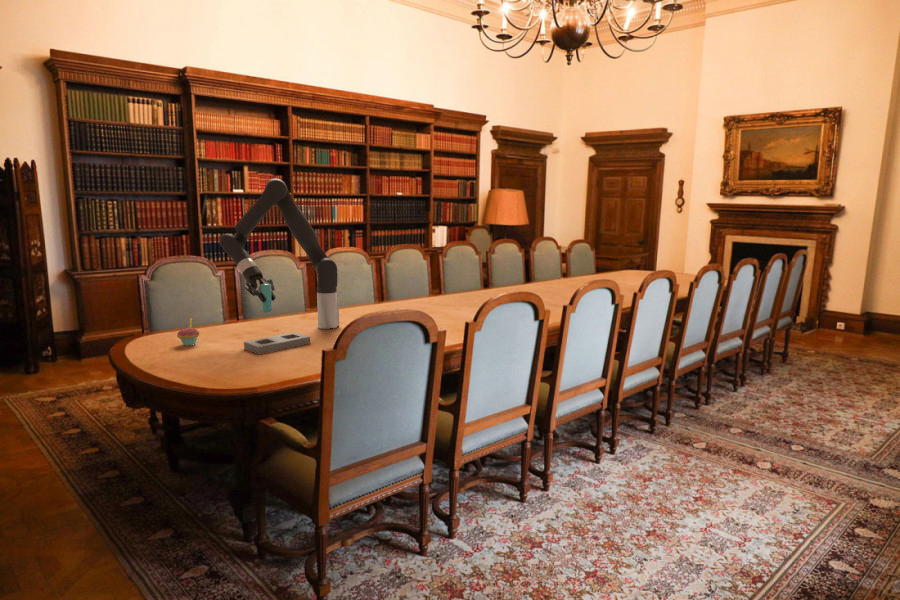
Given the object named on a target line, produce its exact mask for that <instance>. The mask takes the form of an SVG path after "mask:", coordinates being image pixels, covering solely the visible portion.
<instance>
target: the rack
mask: <svg viewBox="0 0 900 600" xmlns="http://www.w3.org/2000/svg"><path fill="white" fill-rule="evenodd" d="M308 343H310V344H311V336H309V335H307V334H303V333H300V332H297V331H293V332H289V333H288V332H287V333H283V334H277V335H273V336H268V337H267V336H266V337H262V338H257V339H253V340H252V339H251V340H245V341H243V348H244V350H246V349H247V350H246V351H249V352H251V351H252V353H254V354H257V355H262V353H263V354H267V352H268V353H272V351H273V352H276V350H277V351H282V350H286V349H285V348H287V349H291V348H295V346H296V347H300V345H301V346H305V345H309V344H308ZM304 344H305V345H304ZM290 347H291V348H290ZM281 349H282V350H281Z"/></svg>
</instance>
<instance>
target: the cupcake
mask: <svg viewBox="0 0 900 600" xmlns="http://www.w3.org/2000/svg"><path fill="white" fill-rule="evenodd" d="M192 318H193V317H190V319H189V327H187V328H186V327H185V328H182V329H180V330H179V331H178V332H177V335H176V336H177V338H178V339H180V341H181V342H182V345H183V346H184V345H191V346H194V345H193V344H195V343H197V340H198V337H199V336H200V331H199V330H198V329H196V328H193V327H192V324H193V319H192ZM195 345H196V344H195Z"/></svg>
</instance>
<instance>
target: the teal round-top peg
mask: <svg viewBox="0 0 900 600" xmlns="http://www.w3.org/2000/svg"><path fill="white" fill-rule="evenodd" d="M260 288H261V293H262V294H263V295H264V297H265V298H266V301H265V302H264V303H263V302H262V301H261V300H260V302H261V313H272V312H273V301H272V295H271V284H268V283H266V284H260Z"/></svg>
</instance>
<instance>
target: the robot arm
mask: <svg viewBox="0 0 900 600" xmlns="http://www.w3.org/2000/svg"><path fill="white" fill-rule="evenodd" d="M275 205H276V206H277V207H278V209H279V210H280V212H281V214H282V216H283V218H284V221H285V223H286V226H287V228H288V229H289V231H290V233H291V234H292V235H293V238H294V240H296V241H297V243H298V245H299V246H300V247H301V248H302V250H303V251H304V252H305V253H306V256H308V258H309V260H310V262H311V264H312V267H313V269H314V271H315V273H316V274H317V286H316V300H317V301H316V303H317V304H316V305H317V307H316V308H317V327H318V328H319V329H321V330H330V328H333V329H336V328H338V327H337V326H339V327H340V307H339V306H338V299H337V297H338V295H337V292H338V291H337V290H338V289H337V288H338V266H337V263H336V262H335V261H334V260H332V259H331V258H329V256H328V255H327V254H326V252H325V251H324V250H323V249H322V247H321V245H320V243H319V240H318V237H317V234H316V232H315V230H314V229H313V226H312V225H311V224H310V222H309V220H308V219H307V217H306V216H305V214H304V213H303V212H302V210H301V209H300V208H299V207H298V205H297V203H295V201H294V199H293V197H292V195H291V194H290V191H289V189H288V187H287V185H286V183H285V181H283V180H282V178H281V179H280V178H277V177H276V178H271V179H269V180H268V181H267V183H266V184H265V188H264V189H263V192H261V195H260V196H259V198H258V199H257V201H255V203H254V204H253V205H252V206H251V207H250V208H249V209H248V210H247V211H246V212H245V213H244V214H243V216H241V218H240V219H239V220H238V222H237V223H236V224H235V226H234V229H235V231H236V232H235V234H231V233H224V234H222V235H221V236H220V238H219V244H220V247H221V248H222V250H223V251H224V252H225V253H226V254H227V255H228V257H229V258H231V259H232V261H233V263H234V264H235V266H236V267H237V269H238V271H239V273H240V275H241V276H242V277H243V279H244V281H246V283H245V285H244V289H245V290H246V291H247V292H248V293H249V294H250V295H252V296H253V297H255V296H256V297H258V299H259V301H260V302H261V301H262V302H263V303H264V302H265V301H266V298H265V297H264V295H263V294H262V293H261V288H260V284H266V283H268V284H271V295H272V302H273V301H275V300H276V295H275V293H274V291H275V289H276V288H275V286H274V281H273V279H271V278H270V279H268V280H267V279H266V278H265V277H264V276H263V273H262V271H261V270H260V268H259V267H258V265H257V264H256V262H255V261H254V260H253V258H252V257H251V256H250V255H249V253H248V252H247V250H246V249H244V246H245V244H246V242H247V241H248V237H249V235H251V233H253V232H252V231H254V229H255V228H256V227H257V226H258V224H259V223H260V222H261V221H262V220H263V218H264V217H265V215H266V214H267V213H268V212H269V211H270V210H271V208H272V207H273V206H275Z"/></svg>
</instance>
